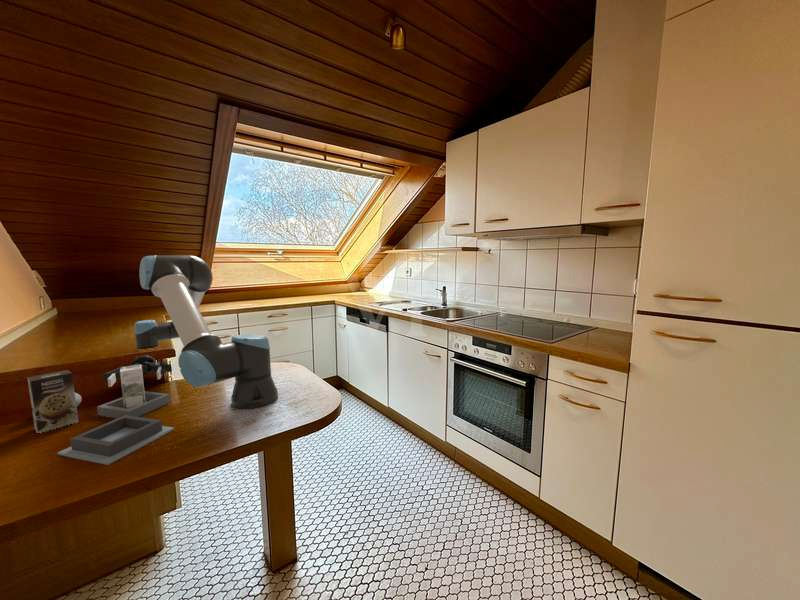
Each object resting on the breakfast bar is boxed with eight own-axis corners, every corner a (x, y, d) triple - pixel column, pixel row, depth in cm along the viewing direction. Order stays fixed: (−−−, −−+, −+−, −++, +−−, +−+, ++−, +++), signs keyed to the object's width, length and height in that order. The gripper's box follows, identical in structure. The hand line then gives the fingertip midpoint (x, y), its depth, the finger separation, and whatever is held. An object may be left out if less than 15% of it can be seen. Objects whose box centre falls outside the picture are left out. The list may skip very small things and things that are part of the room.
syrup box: (146, 403, 121) (141, 363, 119) (146, 409, 116) (141, 367, 114) (125, 408, 118) (120, 366, 116) (124, 414, 113) (119, 371, 111)
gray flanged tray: (174, 429, 102) (172, 417, 101) (107, 465, 85) (105, 451, 84) (129, 422, 107) (127, 411, 106) (57, 454, 90) (55, 441, 89)
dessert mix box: (37, 434, 100) (29, 381, 98) (34, 428, 104) (25, 377, 102) (79, 422, 108) (72, 372, 106) (75, 417, 111) (67, 368, 109)
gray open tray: (170, 402, 121) (169, 394, 121) (129, 420, 108) (128, 411, 108) (141, 398, 125) (140, 390, 125) (98, 415, 112) (96, 406, 112)
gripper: (182, 367, 145) (178, 382, 126) (106, 378, 133) (89, 397, 115) (180, 349, 144) (176, 362, 125) (103, 359, 132) (86, 375, 114)
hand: (134, 379), depth 120 cm, fingers open, 13 cm apart
